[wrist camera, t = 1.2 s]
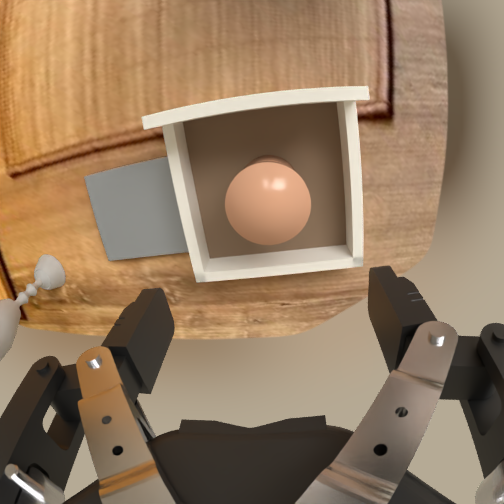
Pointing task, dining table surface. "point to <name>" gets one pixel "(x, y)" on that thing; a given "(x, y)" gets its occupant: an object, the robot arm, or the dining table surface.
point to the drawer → (258, 144)
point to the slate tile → (137, 210)
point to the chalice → (7, 311)
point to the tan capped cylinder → (268, 201)
